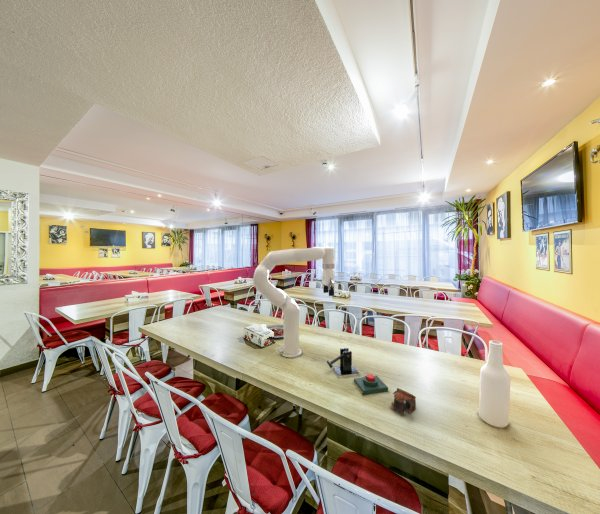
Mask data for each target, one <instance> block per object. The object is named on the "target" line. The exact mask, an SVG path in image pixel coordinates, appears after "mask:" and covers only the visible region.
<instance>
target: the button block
mask: <svg viewBox="0 0 600 514" xmlns="http://www.w3.org/2000/svg"><path fill="white" fill-rule="evenodd" d="M374 376H375V381H373V382H371V381H368V380H367V374H366V375H364V376H362V377H354V378H353V381H354V383H355V384H356V385H357V387H358V388H359V389H360V391H361V392H362V393H361V394H362V396H370V395H375V394H376V395H377V394H383V393H388V392H389V386H388V385H386V384H385V382H384V381H383V380H382V379H381V378H380V377H379V376H378V375H374Z"/></svg>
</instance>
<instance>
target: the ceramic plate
mask: <svg viewBox="0 0 600 514" xmlns="http://www.w3.org/2000/svg"><path fill="white" fill-rule="evenodd" d="M266 327H267V328H268V329H270V330H272V331H273V332H274V338H275V339H276V338H284V329H283V324H273V325H267V326H266Z"/></svg>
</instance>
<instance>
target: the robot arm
mask: <svg viewBox="0 0 600 514" xmlns="http://www.w3.org/2000/svg"><path fill="white" fill-rule="evenodd" d="M335 253H336V252H335V248H334V247H333V246H324V247H321V246H313V247H308V248H287V249H279V250H271V251H269V252H268V253H267V254H266V256H265V257H264V258H263V259H262V260H261V262H260V263H259V264H258V265H257V267H256V268H255V270H254V273H253V276H252V283H253V285H254V288H255V289H256V291H258V292H259V293H260V294H261V295H262V296H263V297H264V298H266V299H267V300H268V301H269V302H270V303H271V304H272V305H273V306H275V307H278V308H279V309H281V310H282V316H283V317H282V319H283V321H282V322H283V324H282V325H283V329H284V337H283V344H282V346H280V347H279V346H277V347H275V351H277V352H278V353H281V356H283V357H285V358H288V359H289V358H290V359H291V358H293V359H294V358H297V357H299V356H301V355H302V353H303V350H302V349H301V348H300V308H299V306H298V304H297V302H296V301H295V300H294V299H293V298H292V297H291V296H289V295H288V294H287V293H286V292H285V291H284V290H283V289H281V288H277V287H276V286H275V285H274V284H272V282H270V281H269V275H270V273H271V272H272V270H274V268H275V267H276V266H280V265H286V264H294V263H302V262H303V263H304V262H313V261H319V260H322V262H321V263H322V264H321V266H322V273H321V283H322V286H323V289H322V290H323V293H324V294H327V293H328V296H329V297H334V296H335V269H336V268H335V267H336V265H335V264H336V263H335V261H336V260H335V259H336V257H335Z"/></svg>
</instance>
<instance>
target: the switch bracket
mask: <svg viewBox="0 0 600 514" xmlns="http://www.w3.org/2000/svg"><path fill="white" fill-rule="evenodd" d="M344 350H347V351H346V352H343V351H344ZM342 352H343V353H342ZM352 352H353V351H351V350H349V347H341V348H339V356H340V355H342V354H343V357H342V358H341V359H339V365H337V366H333V367H332V369H333V370H334V371H335V372H336V374H337V376H339V377H341V376H349V375H350V376H351V375H357V374H360V372H359V371H358V369H356V367H355V366H354V364H353V353H352Z"/></svg>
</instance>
